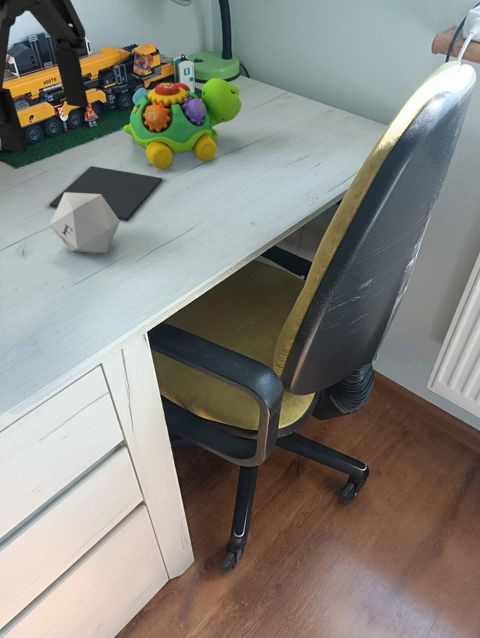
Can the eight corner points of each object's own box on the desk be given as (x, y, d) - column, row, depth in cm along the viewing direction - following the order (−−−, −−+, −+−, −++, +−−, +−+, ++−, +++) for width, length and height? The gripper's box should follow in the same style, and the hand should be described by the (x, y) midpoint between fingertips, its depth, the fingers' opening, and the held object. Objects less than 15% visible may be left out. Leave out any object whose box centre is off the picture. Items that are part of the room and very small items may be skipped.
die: (57, 239, 80) (27, 215, 70) (95, 197, 81) (71, 167, 71) (98, 273, 79) (74, 254, 69) (136, 230, 80) (117, 204, 70)
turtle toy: (257, 154, 100) (258, 90, 92) (140, 176, 93) (130, 109, 84) (223, 121, 111) (222, 61, 102) (117, 138, 103) (105, 75, 95)
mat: (50, 206, 85) (49, 203, 85) (91, 168, 94) (91, 165, 94) (127, 221, 83) (126, 218, 82) (162, 180, 92) (162, 177, 92)
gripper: (-77, -86, 39) (15, 176, 54) (89, -113, 56) (123, 93, 71) (-158, -92, 40) (-46, 166, 55) (28, -117, 57) (74, 87, 72)
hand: (49, 126), depth 63 cm, fingers open, 13 cm apart
